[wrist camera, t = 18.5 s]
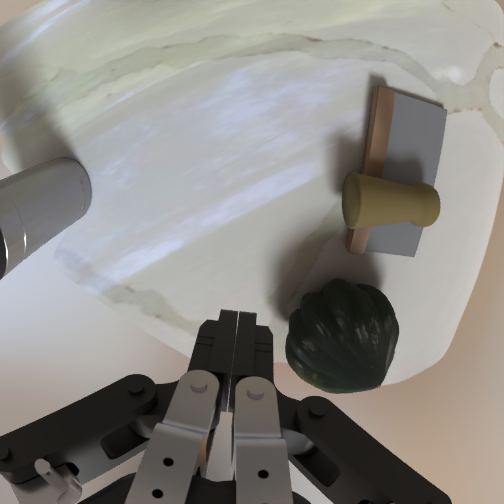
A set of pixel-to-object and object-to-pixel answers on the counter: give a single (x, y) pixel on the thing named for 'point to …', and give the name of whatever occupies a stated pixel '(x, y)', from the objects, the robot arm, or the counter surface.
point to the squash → (342, 338)
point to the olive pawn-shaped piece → (387, 202)
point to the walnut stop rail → (374, 154)
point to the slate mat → (409, 166)
